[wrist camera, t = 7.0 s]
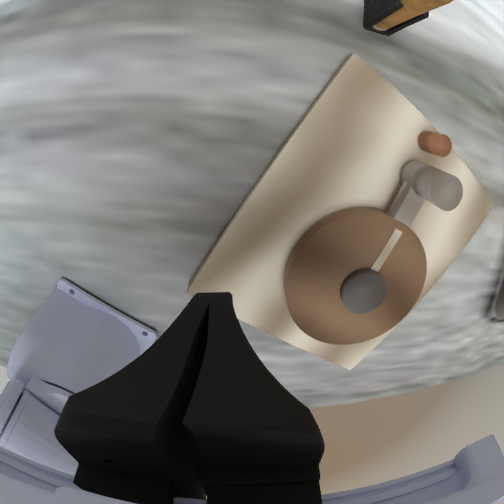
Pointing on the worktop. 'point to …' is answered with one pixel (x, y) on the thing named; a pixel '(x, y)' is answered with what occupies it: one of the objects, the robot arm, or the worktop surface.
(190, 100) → the worktop surface
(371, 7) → the ammunition clip
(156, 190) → the worktop surface
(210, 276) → the board
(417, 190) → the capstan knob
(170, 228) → the worktop surface
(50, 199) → the worktop surface
